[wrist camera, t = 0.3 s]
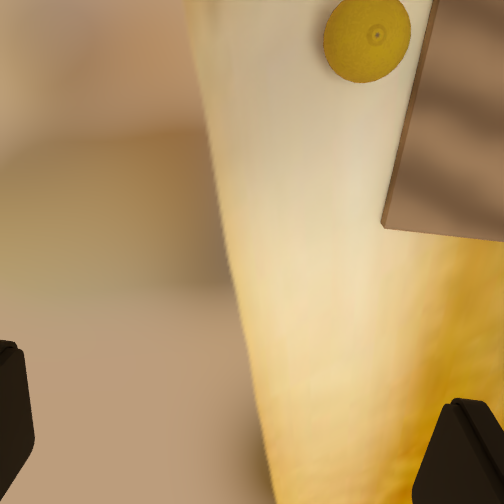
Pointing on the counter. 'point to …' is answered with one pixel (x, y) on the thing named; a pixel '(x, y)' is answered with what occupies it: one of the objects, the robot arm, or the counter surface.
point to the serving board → (454, 128)
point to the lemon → (366, 38)
